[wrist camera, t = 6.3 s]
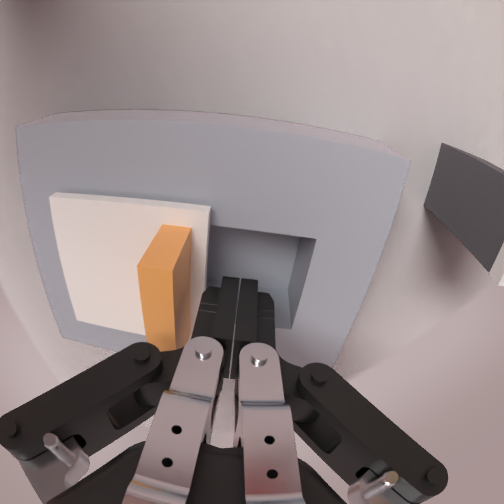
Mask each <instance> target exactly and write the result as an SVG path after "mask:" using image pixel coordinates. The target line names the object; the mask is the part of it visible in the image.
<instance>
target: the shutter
mask: <svg viewBox="0 0 504 504" xmlns="http://www.w3.org/2000/svg"><path fill="white" fill-rule="evenodd" d="M49 201H50V208H51V214H52V221H53V226H54V232H55V237H56V242H57V247H58V252H59V256H60V261H61V265H62V269H63V273H64V277H65V281H66V285H67V288H68V292H69V296H70V299H71V303H72V306H73V309H74V313H75V316H76V319H77V320H78V321H82V322H86V323H90V324H94V325H99V326H103V327H108V328H112V329H117V330H121V331H126V332H131V333H136V334H141V335H146V340H147V342H148V343H151V344H153V345H155V346H156V347H157V348H158V349H159V350H160V352H161V351H171V350H176V349H179V348H182V347H183V346H185V344H186V343H187V342H188V341H189V340H190V339H191V337H192V333H193V329H194V324H195V320H196V316H197V312H198V308H199V304H200V301H201V297H202V293H203V292H204V291H205V290H206V280H207V262H208V245H209V230H210V216H211V206H207V205H198V204H189V203H179V202H170V201H160V200H149V199H139V198H128V197H116V196H104V195H90V194H76V193H61V192H55V193H54V194H53V195H51V196H50V197H49Z"/></svg>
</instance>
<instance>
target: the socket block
mask: <svg viewBox="0 0 504 504" xmlns="http://www.w3.org/2000/svg"><path fill="white" fill-rule="evenodd" d="M16 140H17V153H18V164H19V173H20V180H21V188H22V194H23V201H24V206H25V212H26V217H27V222H28V227H29V232H30V236H31V241H32V245H33V249H34V253H35V257H36V261H37V264H38V268H39V271H40V275H41V278H42V282H43V285H44V288H45V291H46V294H47V297H48V301H49V303H50V306H51V309H52V312H53V315H54V318H55V320H56V323H57V326H58V328H59V331H60V333H61V336H62V337H63V338H67V339H70V340H74V341H77V342H81V343H85V344H88V345H92V346H96V347H100V348H104V349H108V350H112V351H117V352H119V351H121V350H123V349H124V348H126V347H128V346H130V345H131V344H134V343H137V342H147V340H146V335H141V334H136V333H131V332H126V331H121V330H117V329H112V328H108V327H103V326H99V325H94V324H90V323H86V322H82V321H78V320H77V319H76V316H75V313H74V309H73V306H72V303H71V299H70V296H69V292H68V288H67V285H66V281H65V277H64V273H63V269H62V265H61V261H60V256H59V252H58V247H57V242H56V237H55V232H54V226H53V221H52V214H51V208H50V201H49V197H50V196H51V195H53V194H54V193H55V192H61V193H76V194H90V195H104V196H116V197H128V198H139V199H149V200H160V201H170V202H179V203H189V204H198V205H207V206H211V216H210V230H209V245H208V262H207V280H206V289H207V288H208V287H209V286H212V287H220V288H221V283H222V278H223V276H228V277H237V278H240V280H239V289H238V298H237V307H236V316H235V325H234V334H233V343H232V352H231V361H230V370H229V371H231V366H232V356H233V346H234V337H235V327H236V318H237V309H238V300H239V292H240V284H241V278H246V279H254V280H258V292H264V293H269V294H270V295H271V297H272V299H273V300H274V310H275V311H274V312H275V342H276V350H277V352H278V354H279V355H280V357H281V358H282V359H284V360H285V361H287V362H288V363H291V364H293V365H296V366H299V367H302V368H303V367H304V366H305V365H307V364H309V363H314V362H318V363H323V364H326V365H328V366H330V367H331V368H332V366H333V364H334V362H335V360H336V358H337V356H338V354H339V352H340V350H341V348H342V346H343V344H344V342H345V339H346V337H347V335H348V333H349V331H350V329H351V327H352V324H353V322H354V320H355V318H356V315H357V313H358V311H359V309H360V306H361V304H362V302H363V299H364V297H365V294H366V292H367V290H368V287H369V285H370V282H371V280H372V277H373V275H374V272H375V269H376V267H377V264H378V262H379V259H380V256H381V254H382V251H383V248H384V245H385V243H386V240H387V237H388V234H389V231H390V228H391V225H392V222H393V219H394V216H395V213H396V210H397V207H398V204H399V201H400V197H401V194H402V191H403V187H404V184H405V181H406V177H407V174H408V170H409V166H410V163H411V160H410V159H408V158H406V157H405V156H403V155H401V154H400V153H398V152H397V151H395V150H393V149H392V148H390V147H388V146H386V145H385V144H383V143H381V142H379V141H376V140H372V139H368V138H364V137H360V136H356V135H352V134H347V133H343V132H338V131H334V130H329V129H324V128H319V127H314V126H308V125H303V124H297V123H291V122H285V121H278V120H272V119H264V118H257V117H249V116H240V115H231V114H220V113H209V112H195V111H176V110H95V111H78V112H65V113H57V114H54V115H50V116H47V117H44V118H40V119H37V120H34V121H31V122H28V123H25V124H22V125H19V126H16Z"/></svg>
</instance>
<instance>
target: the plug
mask: <svg viewBox="0 0 504 504" xmlns="http://www.w3.org/2000/svg"><path fill="white" fill-rule="evenodd" d="M424 206H425V207H426V208H427V209H428V210H429V211H430V212H432V213H433V214H434V215H435V216H436V217H437V218H438V219H439V220H440V221H441V222H442V223H443V224H444V225H445V226H446V227H447V228H448V229H449V230H450V231H451V232H452V233H453V234H454V235H455V236H456V237H457V238H458V239H459V240H460V241H461V242H462V244H463V245H464V246H465V247H466V248H467V249H468V250H469V251H470V252H471V253H472V254H473V255H474V256H475V258H476V259H477V260H478V261H479V262H480V263H481V264H482V265H483V267H484V268H485V269H486V270H487V271H488V272H489V274H488V275H489V276H490V277H491V278H492V279H493V281H494V282H495V283H496V284H497V285H498V286H504V170H502V169H501V168H499V167H497V166H495V165H493V164H491V163H490V162H488V161H486V160H483V159H481V158H479V157H476V156H474V155H472V154H469V153H467V152H464V151H462V150H459V149H457V148H454V147H452V146H449V145H447V144H444V143H442V144H441V148H440V152H439V156H438V160H437V163H436V167H435V170H434V174H433V177H432V180H431V184H430V187H429V190H428V193H427V197H426V200H425V203H424Z"/></svg>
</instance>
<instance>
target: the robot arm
mask: <svg viewBox="0 0 504 504" xmlns="http://www.w3.org/2000/svg"><path fill="white" fill-rule="evenodd" d="M239 280H240V278H237V277H228V276H223V278H222V283H221V288H220V287H212V286H209V287H208V288H207V289H206V290H205V291H204V292H203V293H202V297H201V301H200V304H199V308H198V312H197V316H196V320H195V324H194V329H193V333H192V337H191V339H190V340H189V341H188V342H187V343H186V344H185V346H183V347H182V348H179V349H176V350H171V351H161V352H160V350H159V349H158V348H157V347H156V346H155V345H153V344H151V343H148V342H137V343H134V344H131V345H130V346H128V347H126V348H124V349H123V350H121V351H119V352H117V353H115V354H114V355H112V356H110V357H108V358H107V359H105V360H103V361H101V362H99V363H98V364H96V365H94V366H92V367H91V368H89V369H87V370H85V371H83V372H82V373H80V374H78V375H76V376H74V377H73V378H71V379H69V380H67V381H65V382H64V383H62V384H60V385H58V386H56V387H55V388H53V389H51V390H49V391H47V392H45V393H43V394H42V395H40V396H38V397H36V398H34V399H33V400H31V401H29V402H27V403H25V404H23V405H21V406H19V407H18V408H16V409H14V410H12V411H10V412H8V413H6V414H4V415H3V416H2V417H1V418H0V444H1V445H2V446H3V447H4V448H5V449H7V450H8V451H9V452H10V453H11V454H12V455H13V456H14V457H15V458H16V459H17V460H18V461H19V463H20V465H21V467H22V469H23V470H24V472H25V474H26V476H27V478H28V479H29V481H30V483H31V485H32V487H33V488H34V490H35V492H36V493H37V495H38V497H39V498H40V500H41V501H42V503H43V504H347V503H346V502H345V501H344V500H343V499H342V498H341V497H340V496H339V495H338V494H337V493H336V492H335V491H334V490H333V489H332V488H331V487H330V486H329V485H328V484H327V483H326V482H325V481H324V480H323V479H322V478H321V476H320V475H318V473H317V472H316V471H315V470H314V469H313V468H312V467H311V466H309V465H308V464H307V463H306V462H304V461H302V460H301V459H299V458H297V451H296V444H295V436H294V431H295V432H296V433H297V434H298V435H299V436H300V437H301V438H302V439H303V441H305V443H306V444H307V445H308V446H309V447H310V448H311V449H312V450H313V451H314V452H315V453H316V454H317V455H318V456H319V457H320V458H321V459H322V460H323V461H324V462H325V463H326V464H328V466H330V468H332V469H333V470H334V471H335V472H336V473H337V474H338V475H339V476H340V477H341V478H342V479H343V480H344V481H345V482H346V483H347V484H349V486H350V487H349V489H348V494H347V495H348V500H349V502H350V504H420V503H422V502H424V501H426V500H428V499H430V498H432V497H434V496H436V495H438V494H439V493H441V492H442V491H443V490H444V489H445V487H446V485H447V482H448V473H447V470H446V468H445V467H444V465H443V464H442V463H440V462H439V461H438V460H437V459H436V458H434V457H433V456H432V455H431V454H429V453H428V452H427V451H426V450H425V449H424V448H422V447H421V446H420V445H419V444H418V443H417V442H415V441H414V440H413V439H412V438H411V437H409V436H408V435H407V434H406V433H405V432H404V431H403V430H401V429H400V428H399V427H398V426H397V425H396V424H394V423H393V422H392V421H391V420H390V419H389V418H387V417H386V416H385V415H384V414H383V413H382V412H381V411H379V410H378V409H377V408H376V407H375V406H374V405H373V404H371V403H370V402H369V401H368V400H367V399H366V398H364V397H363V396H362V395H361V394H360V393H359V392H358V391H357V390H356V389H355V388H353V387H352V386H351V385H350V384H349V383H348V382H347V381H346V380H344V379H343V378H342V377H341V376H340V375H339V374H338V373H337V372H336V371H335V370H333V369H332V368H331V367H330V366H328V365H326V364H323V363H318V362H314V363H309V364H307V365H305V366H304V367H303V368H302V367H299V366H296V365H293V364H291V363H288V362H287V361H285V360H284V359H282V358H281V357H280V355H279V354H278V352H277V350H276V342H275V312H274V311H275V310H274V300H273V299H272V297H271V295H270V294H269V293H264V292H258V280H254V279H246V278H241V284H240V292H239V300H238V309H237V318H236V327H235V337H234V346H233V356H232V366H231V376H230V379H235V389H234V397H233V401H234V442H233V448H218V447H215V446H212V445H210V441H211V434H212V429H213V425H214V420H215V415H216V411H217V406H218V402H219V397H220V392H221V390H222V386H223V378H229V370H230V361H231V352H232V343H233V334H234V325H235V316H236V307H237V298H238V289H239ZM154 414H155V416H154V419H153V422H152V425H151V428H150V431H149V434H148V436H147V440H146V441H143V442H140V443H138V444H135V445H133V446H131V447H129V448H128V449H126V450H125V451H123V452H122V453H121V454H119V455H118V456H116V457H115V458H113V459H112V460H110V461H109V462H108V463H106V464H105V465H103V466H102V467H100V468H99V469H97V470H96V471H94V472H93V473H91V474H90V475H88V476H87V477H85V478H84V479H82V480H81V481H79V479H80V478H81V477H82V476H84V475H85V474H86V472H87V471H88V469H89V465H90V461H89V456H91V455H93V454H94V453H96V452H98V451H99V450H101V449H102V448H104V447H106V446H107V445H109V444H110V443H112V442H114V441H115V440H117V439H118V438H120V437H121V436H123V435H124V434H126V433H128V432H129V431H131V430H132V429H134V428H135V427H137V426H138V425H140V424H141V423H143V422H144V421H146V420H147V419H149V418H150V417H151V416H153V415H154ZM78 481H79V482H78Z"/></svg>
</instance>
